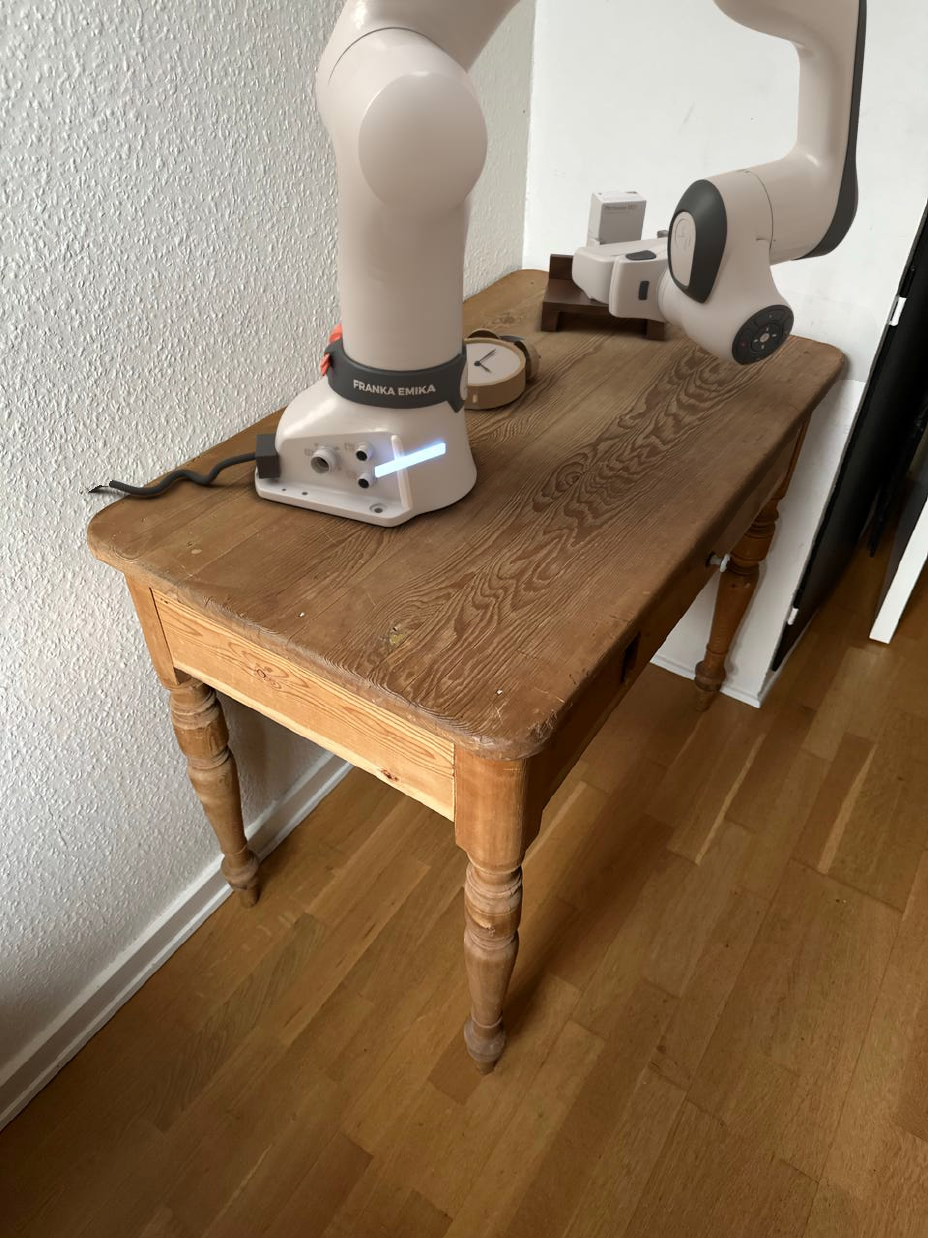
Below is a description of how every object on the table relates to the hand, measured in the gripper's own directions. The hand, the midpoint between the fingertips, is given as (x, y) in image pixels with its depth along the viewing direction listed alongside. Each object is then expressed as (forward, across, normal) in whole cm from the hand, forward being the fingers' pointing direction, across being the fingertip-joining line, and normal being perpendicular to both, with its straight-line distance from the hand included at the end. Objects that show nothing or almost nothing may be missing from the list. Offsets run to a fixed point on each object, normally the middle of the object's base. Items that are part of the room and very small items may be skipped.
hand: (627, 240), depth 112 cm
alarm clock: (-8, +21, +12) cm, 26 cm away
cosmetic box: (+4, 0, +8) cm, 9 cm away
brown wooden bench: (+4, 0, +12) cm, 13 cm away
